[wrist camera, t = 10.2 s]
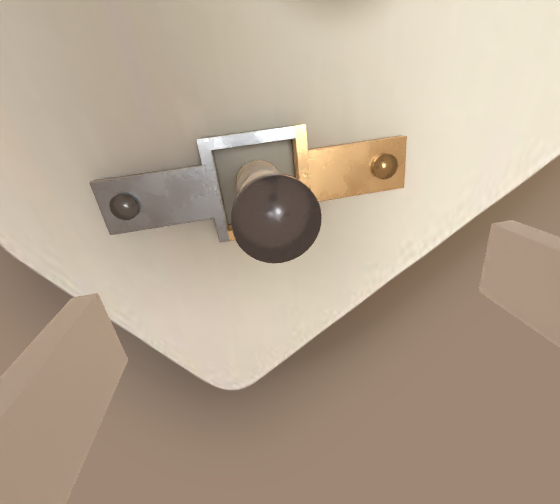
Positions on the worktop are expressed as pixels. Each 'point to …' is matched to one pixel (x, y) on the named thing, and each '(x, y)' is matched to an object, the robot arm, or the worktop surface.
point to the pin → (273, 214)
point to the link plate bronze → (348, 167)
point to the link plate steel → (175, 189)
